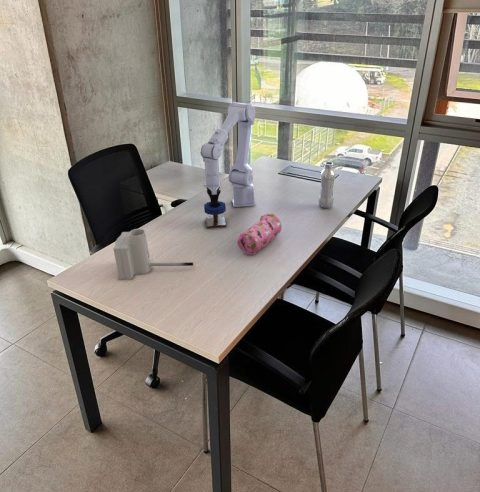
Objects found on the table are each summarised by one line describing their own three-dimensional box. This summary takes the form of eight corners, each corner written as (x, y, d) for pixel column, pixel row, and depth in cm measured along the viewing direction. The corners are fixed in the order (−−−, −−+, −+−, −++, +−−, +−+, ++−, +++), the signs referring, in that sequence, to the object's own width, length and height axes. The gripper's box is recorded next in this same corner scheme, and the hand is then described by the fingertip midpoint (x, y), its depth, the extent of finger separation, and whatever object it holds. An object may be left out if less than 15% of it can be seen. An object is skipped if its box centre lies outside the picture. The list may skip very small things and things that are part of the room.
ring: (224, 205, 194) (224, 200, 192) (226, 214, 186) (226, 208, 185) (204, 207, 193) (203, 201, 192) (205, 215, 186) (204, 210, 184)
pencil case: (262, 230, 186) (262, 210, 181) (282, 234, 182) (283, 214, 177) (235, 253, 170) (235, 232, 166) (257, 259, 166) (257, 237, 162)
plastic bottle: (316, 208, 202) (319, 164, 192) (320, 202, 208) (323, 160, 197) (331, 210, 200) (334, 166, 190) (334, 204, 205) (338, 161, 195)
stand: (224, 218, 196) (223, 206, 193) (226, 227, 190) (225, 213, 186) (206, 220, 196) (205, 207, 193) (207, 228, 189) (205, 215, 186)
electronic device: (126, 261, 168) (119, 224, 160) (195, 260, 167) (192, 223, 159) (117, 279, 158) (109, 241, 150) (191, 278, 157) (187, 240, 149)
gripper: (201, 168, 190) (204, 198, 197) (203, 180, 178) (205, 212, 185) (218, 166, 191) (220, 197, 198) (221, 179, 178) (222, 210, 186)
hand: (214, 204), depth 192 cm, fingers closed on ring, 2 cm apart
